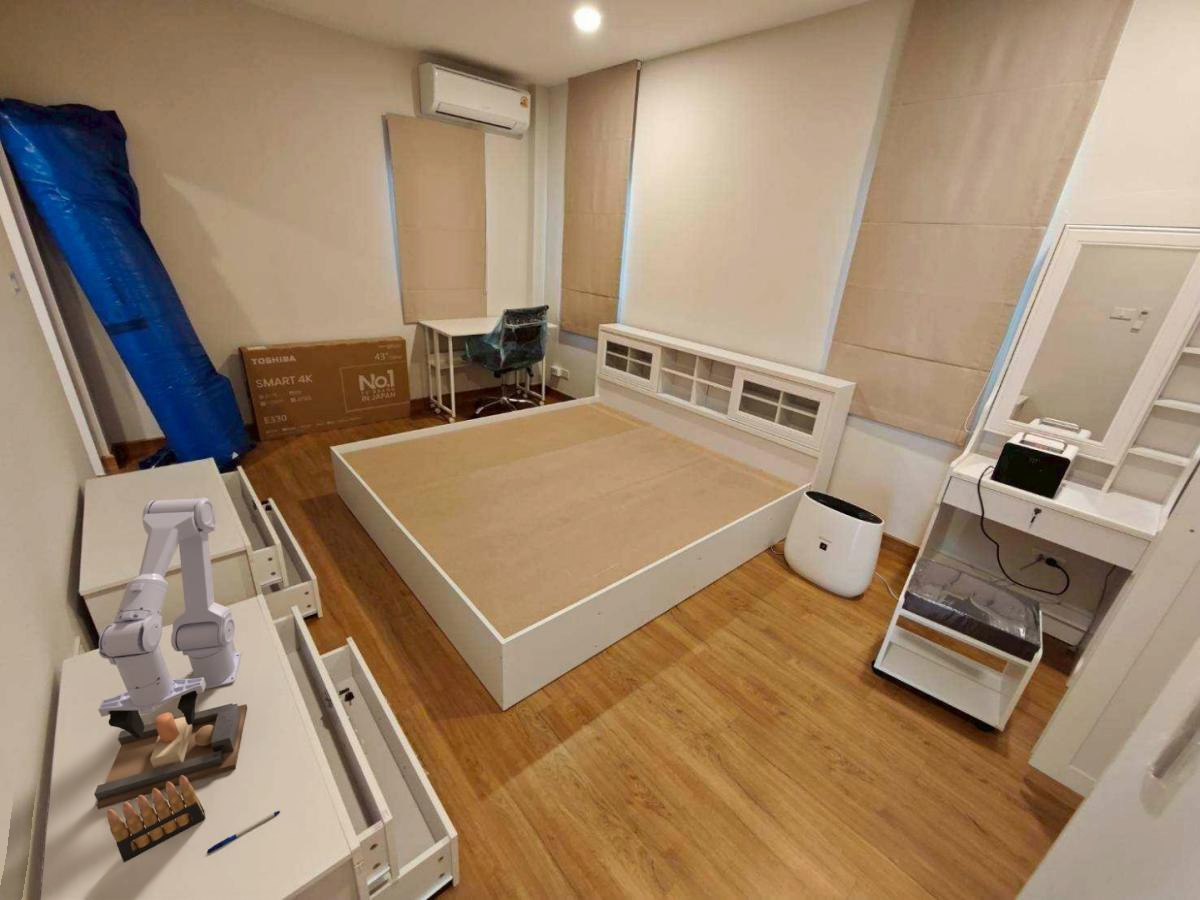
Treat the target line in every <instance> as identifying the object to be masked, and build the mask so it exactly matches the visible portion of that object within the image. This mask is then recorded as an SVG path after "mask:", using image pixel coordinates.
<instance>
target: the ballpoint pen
mask: <svg viewBox="0 0 1200 900" xmlns="http://www.w3.org/2000/svg"><path fill="white" fill-rule="evenodd" d="M279 813H281V812H280V810H277V811H274V812H272V813H271V814H269V815H267V816H265V817H264V818H262V819H260V820H258V821H257V822H255V823H253V824H251V825H250V826H247V828H244V829H242V830H241V831H239V832H237V833H234V834H233V835H231V836H229V837H227V838H225V839H223V840H221V841H219V842H218V843H216V844H214V845H213V846H211V847H210V848H207V851H206V854H211V853H213V852H215V851H217V850H219V849H221V848H222V847H224V846H226V845H227V844H229V843H230V842H233V841H234V840H237V838H239V837H241V836H242V835H245V834H246V833H248V832H250V831H251V830H253V829H255V828H257V827H258V826H260V825H262V824H264V823H265V822H268V821H269V820H270V819H273V818H275V817H276V816H277V815H278V814H279Z"/></svg>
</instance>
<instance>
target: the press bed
mask: <svg viewBox="0 0 1200 900" xmlns="http://www.w3.org/2000/svg"><path fill="white" fill-rule="evenodd" d="M247 711H248V705H247V703H246V704H242V705H238V703H234V704H233V702H232V703H228V704H224V705H220V706H216V707H212V708H208V709H204V710H200V711H195V718H194V722H193V724H192V726H193V730H192V733H191V737H190V740H189V744H188V747H187V751H186V754H185V757H184V761H182V762H179V763H175V764H172V765H168V766H165V767H161V768H158V769H154V767H153V765H152V763H151V760H150V759H151V756H152V753H153V750H154V747H155V744H156V742H157V739H158V736H159V734H158V731H157V729H156V726H155V724H154V722H153V723H148V724H144V731H143V733H142V736H141V738H135V737H134V736H133V735H132V734H130V733H129V732H127V731H126V730H124V729H123V730H120V732H119V734H118V737H117V741H118V742H119V746H120V747H119V749H118V751H117V754H116V756H115V759H114V762H113V763H112V766H111V768H110V771H109V773H108V775H107V778H106V780H105V782H103V783H102V784H98V785H96V786H97V787H96V789H95V791H94V793H93V795H94V797H95V798H96V800H97V802H96V806H95V807H97V809H98V810H100V809H104V808H107V807H111V806H114V805H118V804H120V803H124V802H127V801H130V800H134V799H138V796H139V795H143V796H144V797H145V796H148V795H152V790H153V788H156V789H158V790H159V791H160V792H162V791H164V790H165V791H166V783H167V782H171V783H172V784H173V785H174V786H175V787H178V786H180V784H179V778H180V776H181V775H183V776H185V777H186V778H187V779H188V781H189V783H193V782H195V781H198V780H201V779H204V778H205V779H206V778H208V777H211V776H216V775H219V774H222V773H225V772H229V771H232V770H235V769H236V767H237V763H238V759H239V753H240V748H241V742H242V739H243V738H242V737H243V732H244V727H245V721H246V717H247ZM181 717H185V716H184V715H180V716H176V717H173V718H174V719H178V718H181Z"/></svg>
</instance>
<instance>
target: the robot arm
mask: <svg viewBox="0 0 1200 900" xmlns="http://www.w3.org/2000/svg"><path fill="white" fill-rule="evenodd" d="M215 513H216V511H215V505H214V503H213V502H212V501H211V500H210V499H208V498H207V497H199V498H185V499H184V498H183V499H181V498H180V499H164V500H163V499H161V500H159V499H152V500H150V501H148V502H147V504H146V505H145V506H144V508H143V510H142V515H141V516H142V524H143V525H142V526H143V529H144V531H145V533H146V534H147V539H146V543H145V547H144V552H143V556H142V560H141V564H140V568H139V572H138V576H137V577H135V578H133V579H131V580H130V581H129V582H128V583H127V584H126V587H125V590H124V592H123V595H122V599H121V602H120V603H119V607H118V609H117V612H116V615H115V617H114V620H113V622H112V623H110V625H107V626H105V627H104V629H103V630H102V631H101V634H100V636H99V639H98V648H99V651H98V654H99V656H100V657H101V658H103V659H107V660H108V661H109V663H110V665H113V666H116V667H117V669H118V672H119V675H120V677H121V680H122V682H123V684H124V686H125V688H126V689H125V690H126V692H123V693H121V694H118V695H115V696H113V697H110V698H106V699H103V700H102V701H101V703H100V705H99V707H98V709H97V711H98V712H99V714H100V716H101V717H102V718H103V717H106V716H109V719H108V725H109V726H110V727H113V728H114V727H115V728H119V729H122V730H123V731H124V730H126V731H127V732H129V733H130V734H132V735H133V736H134V737H135V738H141V736H142V733H143V731H144V725H145V724H144V721H143V719H142V717H141V715H145V714H146V715H147V714H151V713H153V712H154V711H155V710H156V708H158V707H159V706H161V705H164V704H166V703H168V702H170V701H172V700H175V699H177V698H179V701H178V703H177V710H179V711H181V713H182V715H183V716H185V720H186V723H187V724H188V725H191V724H193V722H194V718H195V712H196V710H195V709H196V700H197V698H198V694H203V693H204V692H205V690H208V689H212V688H217V687H221V686H226V685H229V684H233V683H234V682H235V681H236V676H237V672H238V668H239V666H240V665H239V663H240V660H241V655H242V651H241V650H237V651H236V648H235V644H234V639H233V638H234V636H235V629H236V627H235V626H236V625H235V621H234V619H233V617H232V612H231V608H229V607H227V606H225V605H222V604H220V603H217V602H215V597H214V596H215V595H214V585H213V584H214V583H213V573H212V562H211V561H212V560H211V552H210V540H209V538H210V537H209V533H212V532H214V531H216V525H217V524H216V514H215ZM178 547H179V557H180V559H179V561H180V566H181V567H180V569H181V570H180V571H181V577H182V578H181V579H182V580H181V581H182V589H183V600H184V610H183V611H182V612H181V613H179V614H178V615H177V616H176V617H175V618H174V619H173V621H172V632H171V635H170V637H171V638H170V644H171V647H172V649H173V650H174V651H175V652H182V655H183V656H187V657H188V660H189V663H190V666H191V669H192V673H193V675H194V678H172V677H171V675H170V672H169V669H168V667H167V664H166V660H165V658H164V655H163V653H162V650H161V647H160V645H159V644H160V642H161V640H162V639H161V638H162V634H163V625H162V623H163V616H162V615H161V612H162V609H163V607H164V603H165V599H166V596H167V594H168V590H169V587H170V585H169V583H168V582H167V580H166V579H165V576H166V574H167V571H168V569H169V568H170V567H169V566H170V565H171V562H172V560H173V558H174V555H175V554H176V551H177V548H178Z"/></svg>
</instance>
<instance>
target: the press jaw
mask: <svg viewBox="0 0 1200 900" xmlns="http://www.w3.org/2000/svg"><path fill="white" fill-rule="evenodd" d="M174 718H175V717H174V715H173V714H172V712H164V713H162V714H159V715H158V716H157V717H156V718H155V719H154V722H153V723H154V724H155V726H156V729H157V731H158V734H159V736H158V739H157V742H156V744H155V747H154V750H153V753H152V756H151V759H150V760H151V763H152V765H153V767H154V769H158V768H161V767H165V766H168V765H172V764H175V763H179V762H182V761H184V757H185V754H186V751H187V747H188V744H189V740H190V737H191V733H192V730H193V726H192V724H191V725H188V724H187V723H186V720H185V717H181V718H178V719H174Z"/></svg>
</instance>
